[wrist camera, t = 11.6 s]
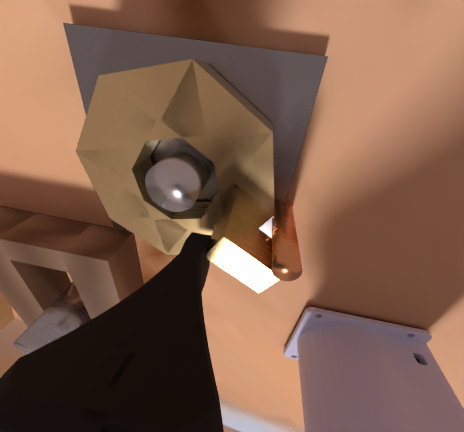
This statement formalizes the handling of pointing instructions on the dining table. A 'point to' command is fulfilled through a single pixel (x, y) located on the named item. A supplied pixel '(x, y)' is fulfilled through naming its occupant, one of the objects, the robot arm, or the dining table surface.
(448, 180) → the dining table surface
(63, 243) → the slot block
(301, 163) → the dining table surface
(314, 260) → the dining table surface
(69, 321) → the pin
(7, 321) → the sandwich container
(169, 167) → the nut base
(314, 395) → the robot arm
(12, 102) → the dining table surface
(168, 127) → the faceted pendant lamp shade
